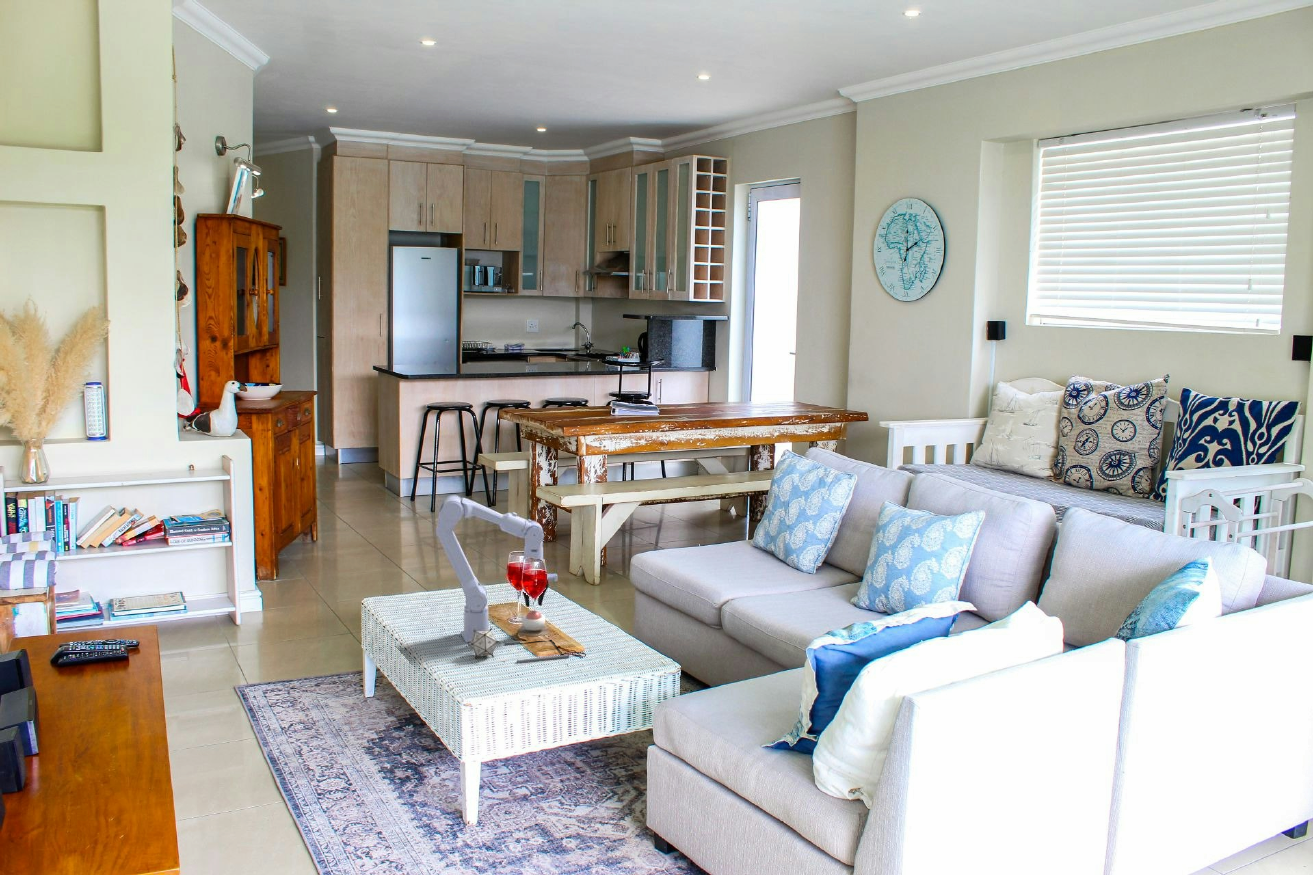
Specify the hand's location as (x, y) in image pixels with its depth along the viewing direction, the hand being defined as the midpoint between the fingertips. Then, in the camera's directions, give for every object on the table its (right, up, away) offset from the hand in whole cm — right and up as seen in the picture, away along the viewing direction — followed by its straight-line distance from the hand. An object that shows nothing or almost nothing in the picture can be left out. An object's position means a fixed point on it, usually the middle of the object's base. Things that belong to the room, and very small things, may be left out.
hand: (533, 605), depth 319 cm
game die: (-12, -12, -18) cm, 25 cm away
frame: (+2, -11, -13) cm, 17 cm away
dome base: (0, -9, +1) cm, 9 cm away
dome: (0, -7, +1) cm, 7 cm away
